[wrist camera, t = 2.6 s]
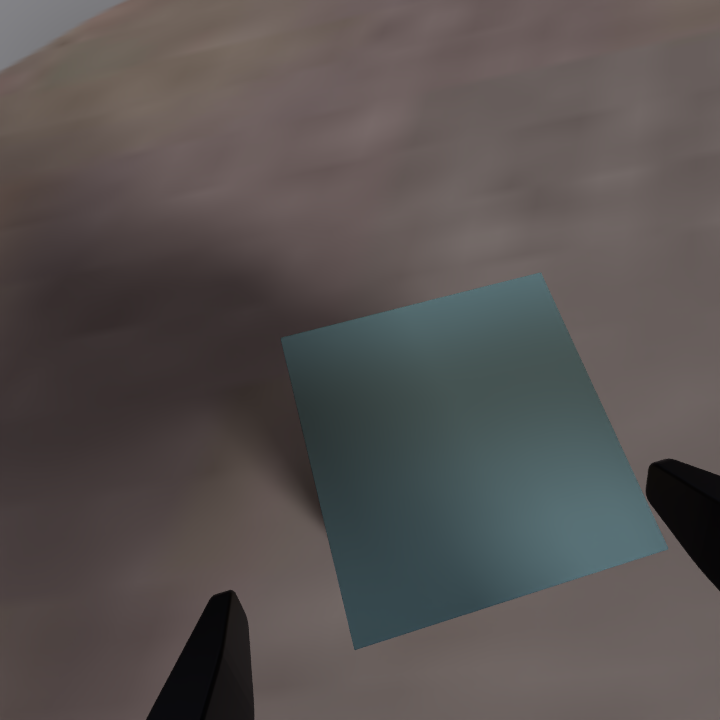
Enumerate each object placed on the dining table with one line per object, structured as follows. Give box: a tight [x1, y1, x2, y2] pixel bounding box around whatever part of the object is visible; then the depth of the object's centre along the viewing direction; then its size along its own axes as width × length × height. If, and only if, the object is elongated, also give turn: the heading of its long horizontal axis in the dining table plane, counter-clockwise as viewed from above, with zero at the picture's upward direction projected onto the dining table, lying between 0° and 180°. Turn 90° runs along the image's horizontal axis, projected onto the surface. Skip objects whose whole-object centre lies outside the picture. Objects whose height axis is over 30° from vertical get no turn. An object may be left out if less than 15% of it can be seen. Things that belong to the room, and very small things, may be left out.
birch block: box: [281, 273, 668, 650], centre depth 13 cm, size 4×4×12 cm
